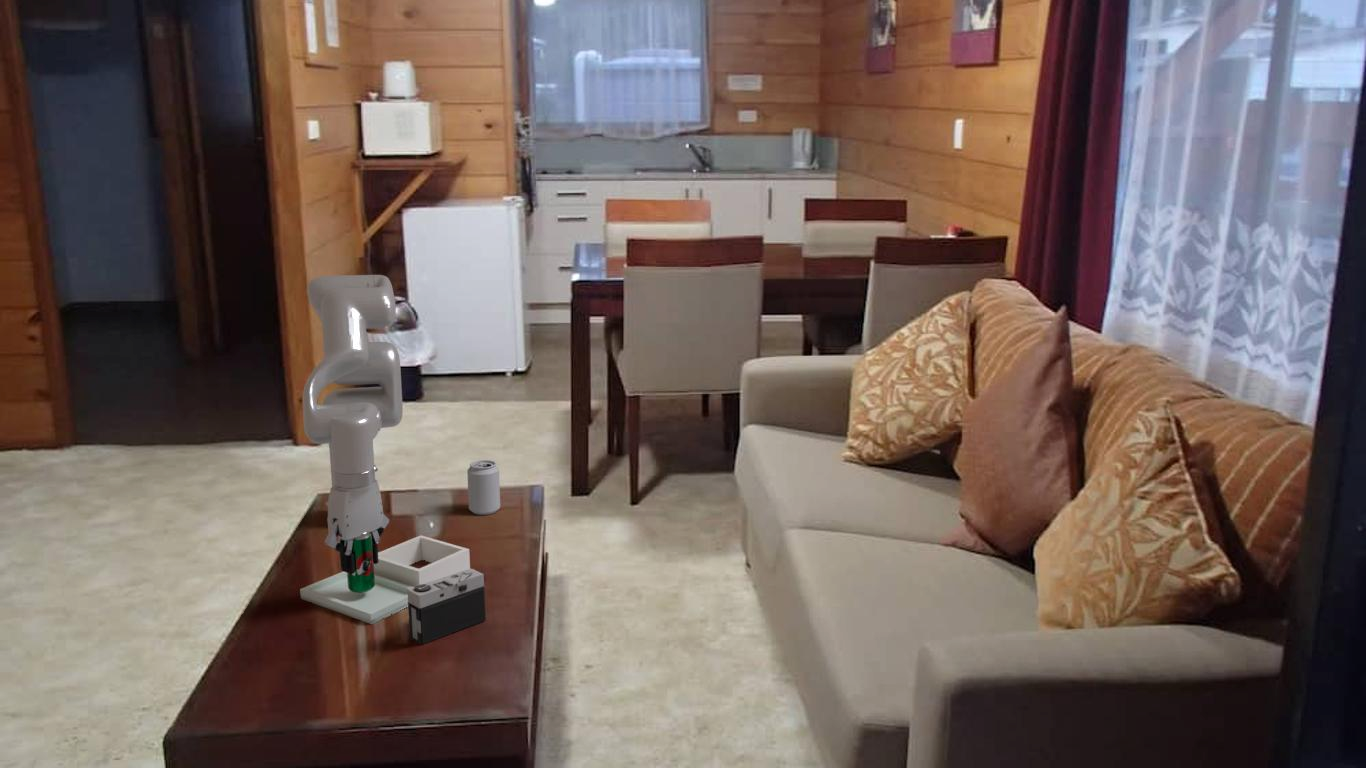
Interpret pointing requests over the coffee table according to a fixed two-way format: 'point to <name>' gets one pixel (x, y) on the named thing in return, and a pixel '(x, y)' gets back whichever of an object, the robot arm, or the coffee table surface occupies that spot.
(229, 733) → the coffee table surface
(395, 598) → the tray
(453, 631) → the camera
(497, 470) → the can
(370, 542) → the soda can
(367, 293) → the robot arm
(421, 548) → the holder
